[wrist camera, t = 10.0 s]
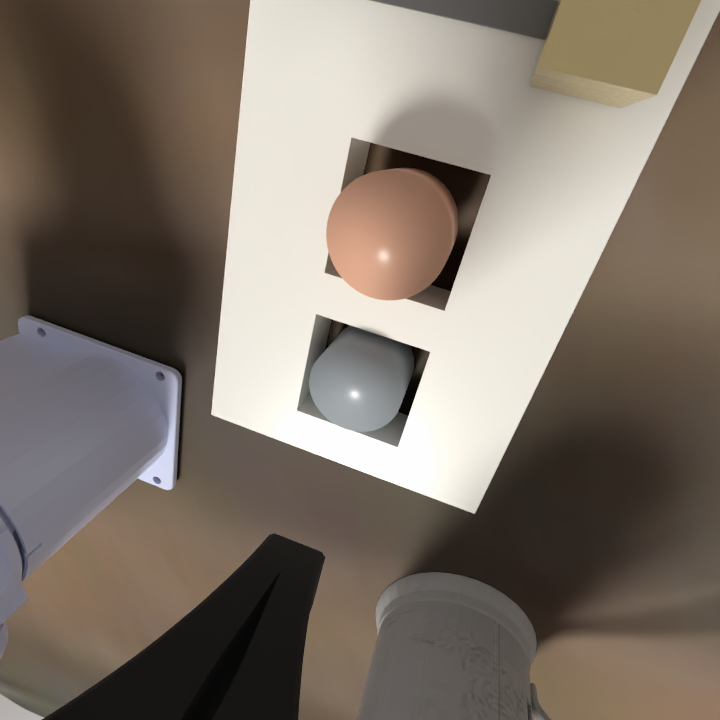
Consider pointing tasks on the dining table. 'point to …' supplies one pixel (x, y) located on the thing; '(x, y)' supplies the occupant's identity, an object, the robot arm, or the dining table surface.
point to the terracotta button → (392, 232)
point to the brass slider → (612, 48)
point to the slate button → (361, 379)
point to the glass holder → (450, 653)
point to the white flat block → (484, 248)
